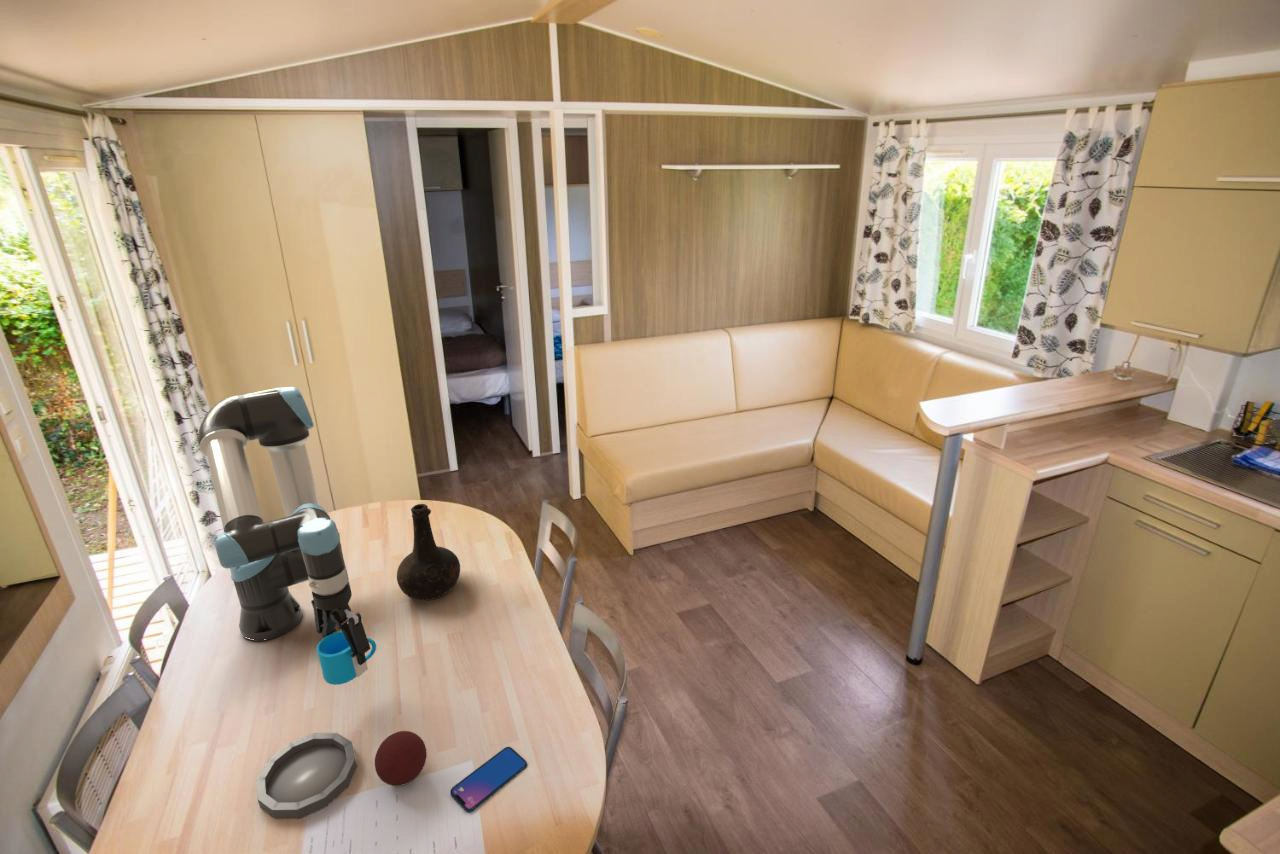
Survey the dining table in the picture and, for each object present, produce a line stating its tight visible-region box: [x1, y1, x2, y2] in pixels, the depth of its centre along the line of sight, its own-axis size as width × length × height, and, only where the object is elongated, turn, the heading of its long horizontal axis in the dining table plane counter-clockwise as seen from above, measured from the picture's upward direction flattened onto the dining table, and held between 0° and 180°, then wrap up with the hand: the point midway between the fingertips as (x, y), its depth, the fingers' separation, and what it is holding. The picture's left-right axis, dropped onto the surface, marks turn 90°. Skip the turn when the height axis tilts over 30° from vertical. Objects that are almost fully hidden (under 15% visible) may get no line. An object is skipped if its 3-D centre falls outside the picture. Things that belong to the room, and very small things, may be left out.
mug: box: [316, 630, 377, 686], centre depth 148 cm, size 12×8×8 cm
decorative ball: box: [374, 730, 428, 787], centre depth 132 cm, size 10×10×10 cm
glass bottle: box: [396, 503, 461, 601], centre depth 186 cm, size 18×18×28 cm
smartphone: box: [449, 746, 528, 814], centre depth 133 cm, size 7×1×15 cm
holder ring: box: [255, 732, 358, 820], centre depth 133 cm, size 18×18×2 cm
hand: (349, 665), depth 150 cm, fingers closed on mug, 8 cm apart
